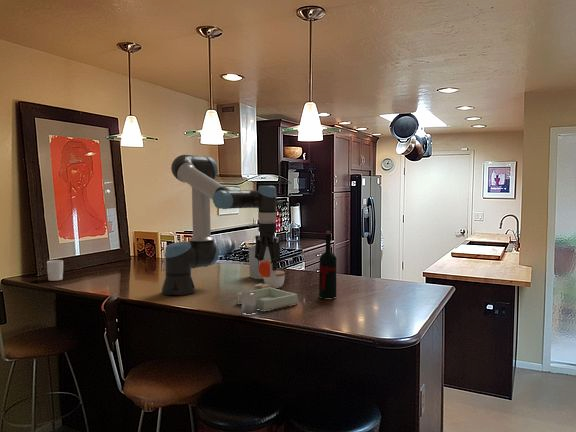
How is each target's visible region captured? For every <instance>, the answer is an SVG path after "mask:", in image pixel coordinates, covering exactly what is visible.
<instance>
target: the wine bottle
mask: <svg viewBox="0 0 576 432" xmlns="http://www.w3.org/2000/svg"><path fill="white" fill-rule="evenodd" d="M331 235H332V234H331V230H325V252H323V253H322V254H321V255H320V257H319V265H318V266H319V269H318V270H319V272H318V273H319V276H318V277H319V278H318V281H319V282H318V297H319V296H320V297H322V298H334V297H336V298H337V257H336V255H335V253H333V252H331V250H332V249H331V248H332V247H331V245H332V244H331V241H332V240H331V237H332V236H331Z"/></svg>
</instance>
